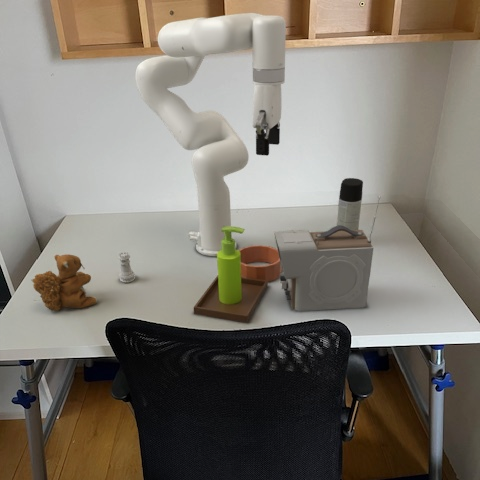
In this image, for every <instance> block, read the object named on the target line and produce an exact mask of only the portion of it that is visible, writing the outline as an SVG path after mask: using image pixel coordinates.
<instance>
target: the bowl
mask: <svg viewBox="0 0 480 480" xmlns="http://www.w3.org/2000/svg"><path fill="white" fill-rule="evenodd" d="M237 250H238V251H240V254H241V277H244V278H251V279H258V280H265V281H268V283H269V282H274V281H275V280H277V279H278V278H280V273H283V270H282V266H281V263H280V258H279V254H278V249H277V247H276V248H275V247H273V246H270V245H261V244H255V245H248V246H245V247H242V248H240V249H237ZM255 262H257V263H258V262H262V263H268V264H265V265H253V264H252V265H251V264H250V263H255Z"/></svg>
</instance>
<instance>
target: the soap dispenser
mask: <svg viewBox="0 0 480 480" xmlns="http://www.w3.org/2000/svg"><path fill="white" fill-rule="evenodd" d="M221 232H224V233H225V238H224V239H223V240H222V241H221V244H222V250H220V251H219V252H218V253H217V256H216V262H217V276H218V285H219V300H220V301H221V302H222V303H224V304H236V303H238V302H240V301H241V299H242V296H241V254H240V251H238V250H239V249H237V248H236V249H235V241H236V240H235V238H233V237H232V233H237V234H243V233H245V228H242V227H239V226H231V227H223V228H222V230H221Z"/></svg>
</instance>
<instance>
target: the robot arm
mask: <svg viewBox="0 0 480 480" xmlns="http://www.w3.org/2000/svg"><path fill="white" fill-rule="evenodd" d="M286 33H287V23H286V20H285V18H284V17H283V16H281V15H271V14H270V15H264V14H261V13H257V12H246V13H235V14H227V15H219V16H213V17H203V16H202V17H195V18H189V19H184V20H177V21H176V20H175V21H171V22H168V23H166V24H165V25H163V26H162V27H161V28H160V30H159V31H158V34H157V45H158V47H159V49H160V50H161V52H162V53H163V54H165V55H159V56H153V57H150V58H147V59H145V60H142V61H141V62H140V63H139V64H138V65H137V66H136V70H135V73H134V75H135V84H136V88H137V91H138V93H139V95H140V97H141V99H142V100H143V102H144V103H145V105H146V106H148V108H149V109H150V110H151V111H152V112H153V113H155V114H156V116H157V117H158V118H159V119H160V120H161V122H162V123H163V124H164V125H165V127H166V128H167V129H168V131H169V132H170V133H171V135H172V136H173V137H174V139H175V140H176V141H177V143H178V144H179V145H180V146H181V147H182V148H183V149H184V150H187V151H194V150H195V151H194V152H193V154H192V157H191V168H192V171H193V175H194V179H195V185H196V192H197V193H196V195H197V205H198V207H197V209H198V221H199V223H198V224H199V231H193V230H189V232H188V237H189V241H196V244H195V249H196V251H197V252H198V253H199V254H201V255H203V256H207V257H217V253H218V252H219V251H220V250H222V244H221V241H222V240H223V239H224V238H225V233H224V232H221V230H222V228H223V227H232V219H231V217H232V216H231V192H230V188H229V187H228V185H227V183H226V181H225V180H224V177H227V176H228V175H232V174H233V173H236V172H239V171H241V170H243V169H244V168H246V166H247V164H248V163H249V151H248V148H247V146H246V144H245V143H244V141H243V140H242V138H241V137H240V136H239V134H238V133H237V132H236V131H235V129H234V128H233V127H232V125H231V124H230V123H229V122H228V120H227V119H226V118H225V117H224V116H223V115H222V114H221V113H220V112H218V111H216V110H204V111H200V112H195V111H194V110H192V108H191V107H189V105H188V104H187V102H186V101H185V100H184V99H183V98H182V97H180V96H179V95H178V94H176V93H174V92H172V91H171V90H169V89H172V88H176V87H182V86H185V85H188V84H190V83H191V82H192V81H193V80H194V79H195V77H196V75H197V73H198V71H199V69H200V66H201V65H202V63H203V61H204V59H205V57H207V56H209V55H217V54H229V53H234V52H240V51H248V50H252V84H254V88H253V96H252V97H253V99H252V120H251V122H252V127H253V128H254V129H255V154H256V155H257V156H269V155H270V145H276V146H277V145H279V144H280V142H281V140H280V137H281V135H280V134H281V129H280V127H281V123H280V121H281V118H282V85H283V84H284V83H285V80H286V79H285V77H286V73H285V72H286V40H287V39H286V38H287V37H286V35H287V34H286ZM237 245H238V244H237V241H236V240H235V249H236V250H237V247H238V246H237Z"/></svg>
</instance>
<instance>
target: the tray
mask: <svg viewBox="0 0 480 480" xmlns="http://www.w3.org/2000/svg"><path fill="white" fill-rule="evenodd" d="M268 288H269V282H268V281H265V280H258V279H251V278H244V277H241V296H242V299H241V301H240V302H238V303H236V304H224V303H222V302H221V301H220V300H219V285H218V275H216V277H215V278H214V280H213V281H212V282H211V284H209V286H208V287H207V289H206V290H205V292H204V293H203V294H202V295H201V296H200V298H199V299H198V301H197V302H196V303H195V304H194V306H193V315H198V316H205V317H211V318H215V319H216V318H217V319H221V320H229V321H233V322H238V323H239V322H241V323H245V324H248V322H250V319H251V318H252V316H253V314H254V312H255V311H256V308H257V307H258V305H259V304H260V302H261V300H262V298H263V297H264V295H265V293H266V291H267V290H268Z"/></svg>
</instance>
